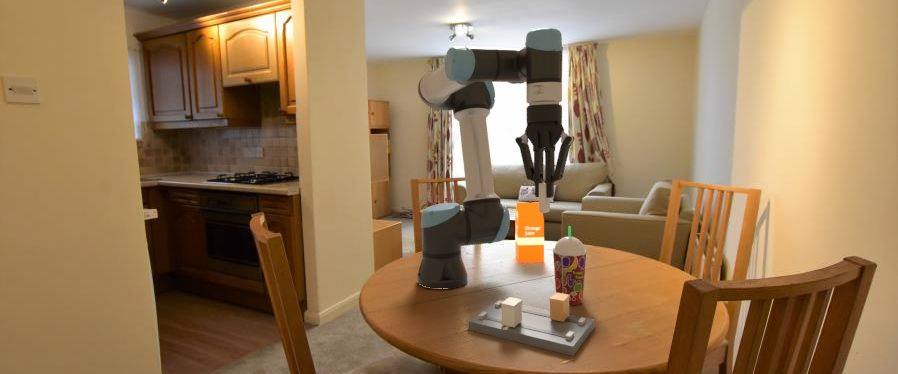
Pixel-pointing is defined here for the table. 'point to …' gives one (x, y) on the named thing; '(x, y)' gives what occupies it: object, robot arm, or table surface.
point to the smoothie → (570, 267)
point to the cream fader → (511, 312)
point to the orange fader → (559, 306)
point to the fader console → (536, 328)
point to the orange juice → (529, 233)
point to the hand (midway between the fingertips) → (544, 211)
